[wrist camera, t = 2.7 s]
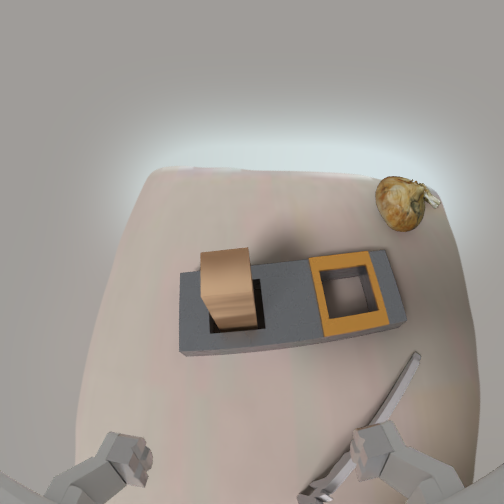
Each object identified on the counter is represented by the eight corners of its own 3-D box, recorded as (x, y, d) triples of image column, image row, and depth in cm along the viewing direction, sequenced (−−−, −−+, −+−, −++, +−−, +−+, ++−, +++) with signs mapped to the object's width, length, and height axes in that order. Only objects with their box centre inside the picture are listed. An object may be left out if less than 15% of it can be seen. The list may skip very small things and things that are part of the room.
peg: (257, 329, 30) (252, 291, 21) (221, 332, 30) (200, 296, 21) (254, 295, 32) (248, 247, 24) (219, 299, 32) (200, 252, 24)
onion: (401, 195, 39) (418, 156, 32) (425, 236, 35) (448, 199, 28) (361, 200, 39) (374, 158, 32) (383, 245, 35) (403, 205, 28)
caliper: (303, 500, 19) (311, 520, 14) (295, 495, 20) (302, 514, 15) (419, 357, 27) (447, 342, 21) (413, 352, 27) (440, 336, 22)
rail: (398, 327, 28) (408, 319, 26) (186, 356, 29) (178, 350, 26) (378, 260, 33) (385, 248, 31) (186, 282, 33) (179, 271, 31)
